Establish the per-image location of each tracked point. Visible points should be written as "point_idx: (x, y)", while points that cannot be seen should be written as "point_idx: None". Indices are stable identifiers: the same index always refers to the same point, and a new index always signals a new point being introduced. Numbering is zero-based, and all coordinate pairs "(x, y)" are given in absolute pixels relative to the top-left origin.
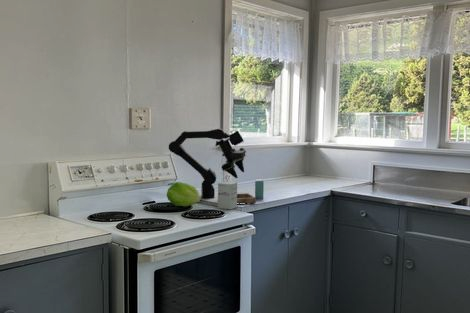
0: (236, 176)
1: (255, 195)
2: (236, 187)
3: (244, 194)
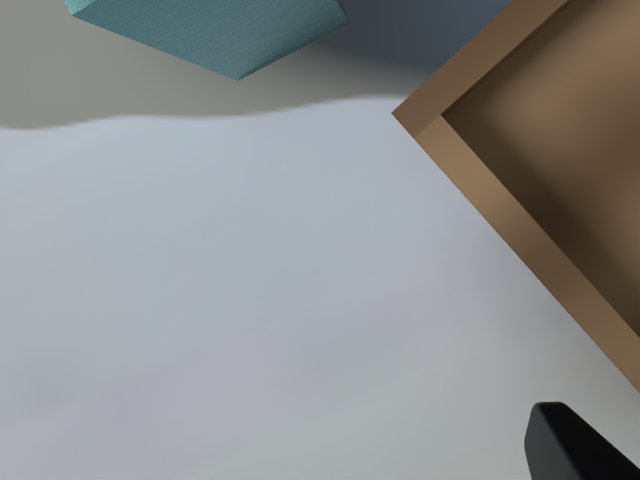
0: (604, 451)
1: (337, 3)
2: None
3: (472, 151)
